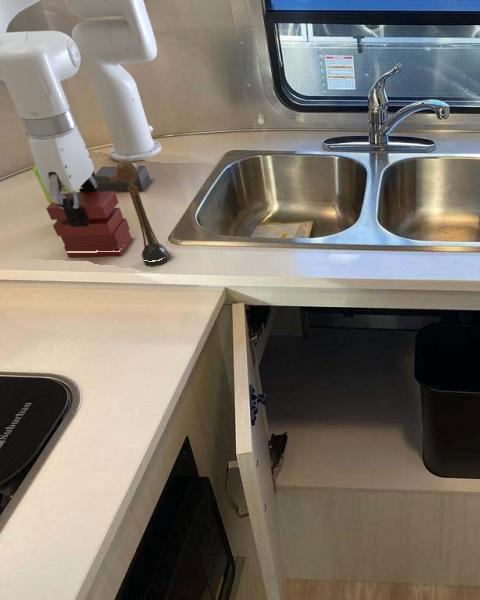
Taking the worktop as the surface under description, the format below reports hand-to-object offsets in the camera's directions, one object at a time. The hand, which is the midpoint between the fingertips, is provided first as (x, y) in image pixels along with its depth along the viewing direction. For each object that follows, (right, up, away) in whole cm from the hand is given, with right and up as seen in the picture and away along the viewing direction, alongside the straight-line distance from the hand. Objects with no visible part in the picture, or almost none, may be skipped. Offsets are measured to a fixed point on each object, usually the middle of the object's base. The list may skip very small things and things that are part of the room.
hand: (87, 215), depth 104 cm
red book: (0, +1, -1) cm, 1 cm away
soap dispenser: (-9, 0, +13) cm, 16 cm away
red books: (0, -6, +5) cm, 7 cm away
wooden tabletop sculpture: (+12, -9, +1) cm, 15 cm away
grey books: (-6, +11, +26) cm, 28 cm away
